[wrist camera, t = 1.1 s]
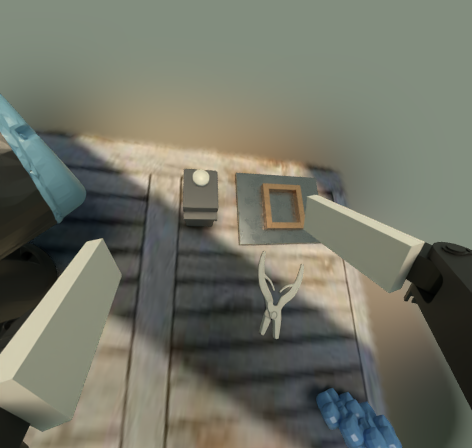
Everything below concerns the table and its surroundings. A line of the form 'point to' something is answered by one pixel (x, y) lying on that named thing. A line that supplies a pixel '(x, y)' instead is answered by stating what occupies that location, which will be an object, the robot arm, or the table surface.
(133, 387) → the table surface
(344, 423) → the grapes
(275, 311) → the pliers
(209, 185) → the servo
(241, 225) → the plate
